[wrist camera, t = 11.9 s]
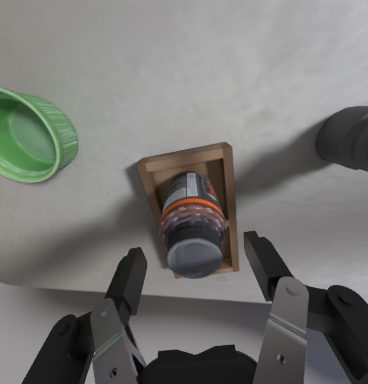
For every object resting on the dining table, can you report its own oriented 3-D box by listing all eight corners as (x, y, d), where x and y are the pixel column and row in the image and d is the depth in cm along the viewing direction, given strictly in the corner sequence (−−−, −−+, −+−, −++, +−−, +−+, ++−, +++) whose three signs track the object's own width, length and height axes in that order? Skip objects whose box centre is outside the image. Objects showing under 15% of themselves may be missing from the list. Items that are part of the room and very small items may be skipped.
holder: (176, 263, 29) (175, 278, 26) (142, 158, 20) (136, 165, 17) (234, 255, 28) (239, 271, 25) (225, 141, 19) (232, 146, 16)
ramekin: (-5, 138, 19) (-53, 144, 15) (16, 69, 16) (-37, 56, 12) (66, 182, 22) (40, 198, 18) (96, 130, 19) (73, 136, 15)
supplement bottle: (219, 198, 22) (249, 275, 12) (181, 215, 23) (178, 296, 13) (201, 160, 19) (218, 215, 9) (159, 181, 21) (134, 249, 10)
